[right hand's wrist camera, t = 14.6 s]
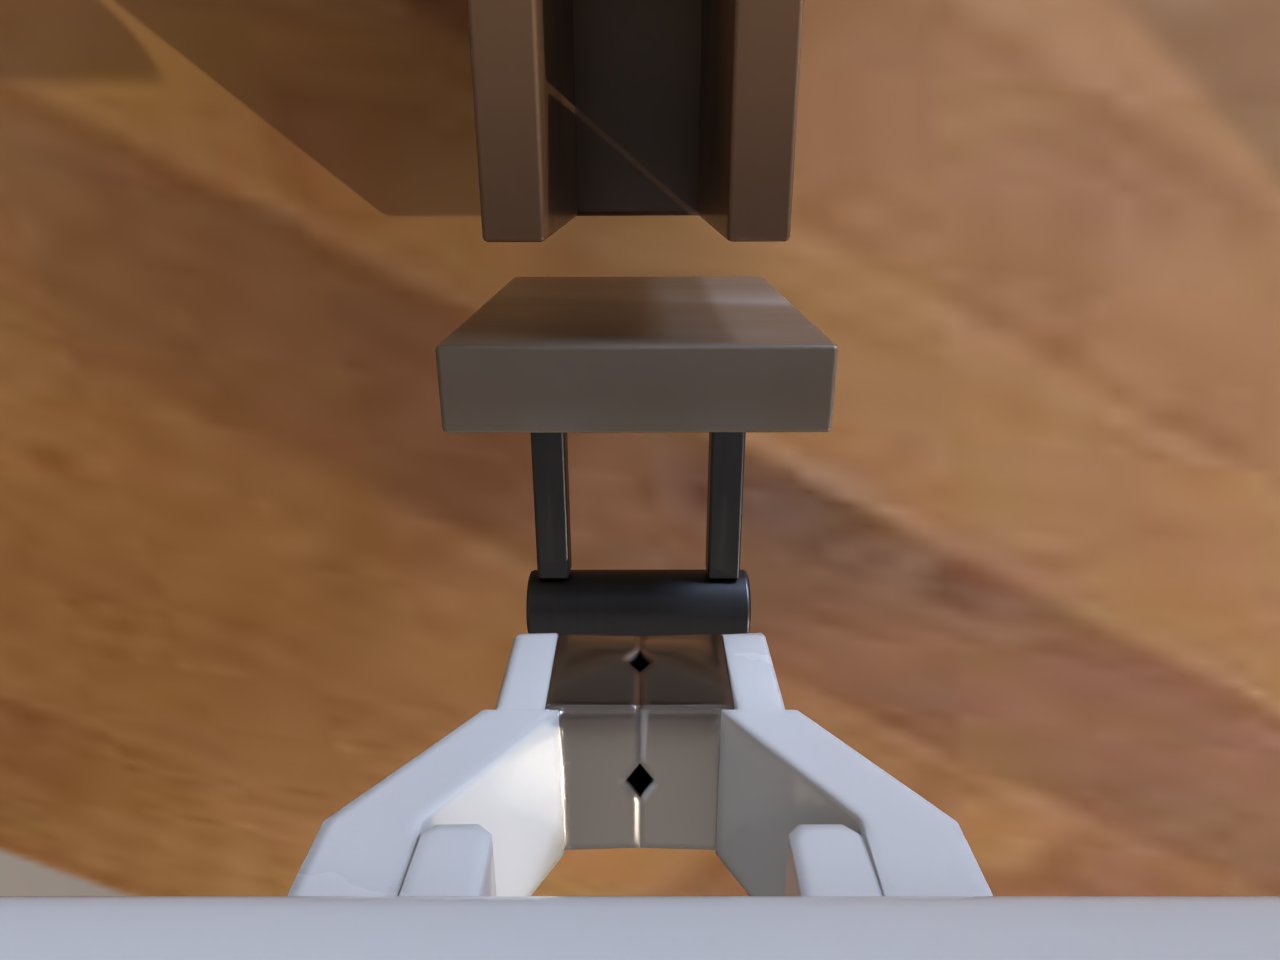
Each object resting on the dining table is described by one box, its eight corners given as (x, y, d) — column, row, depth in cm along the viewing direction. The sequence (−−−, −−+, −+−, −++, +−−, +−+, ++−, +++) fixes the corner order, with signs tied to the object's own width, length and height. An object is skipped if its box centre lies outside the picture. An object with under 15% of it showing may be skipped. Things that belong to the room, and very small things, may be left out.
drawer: (749, 554, 20) (806, 755, 13) (528, 554, 20) (470, 755, 13) (805, -606, 13) (984, -1447, 6) (465, -605, 13) (274, -1443, 6)
